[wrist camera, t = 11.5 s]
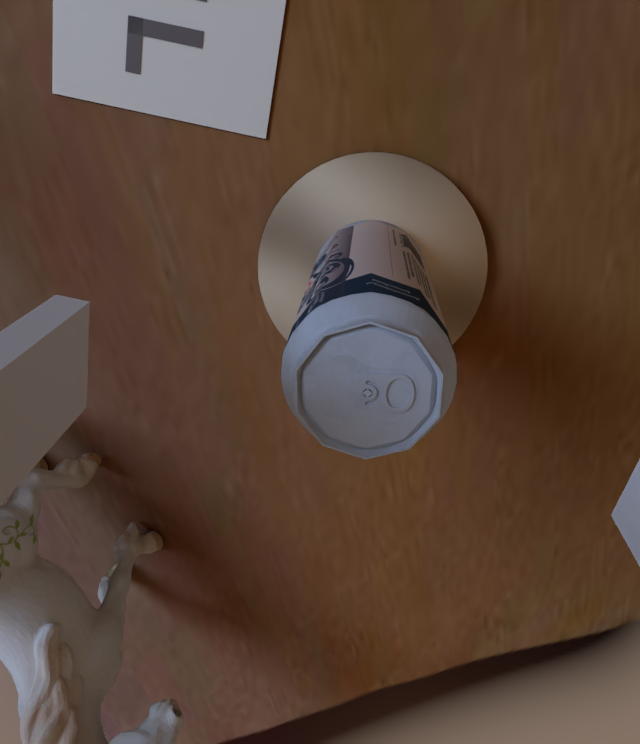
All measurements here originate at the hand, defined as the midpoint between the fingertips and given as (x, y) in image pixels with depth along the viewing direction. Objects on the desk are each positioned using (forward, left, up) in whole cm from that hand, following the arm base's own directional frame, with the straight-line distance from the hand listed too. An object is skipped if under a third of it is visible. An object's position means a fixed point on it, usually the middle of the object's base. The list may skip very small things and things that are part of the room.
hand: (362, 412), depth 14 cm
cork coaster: (0, 0, -14) cm, 14 cm away
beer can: (0, 0, -14) cm, 14 cm away
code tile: (-9, -10, -14) cm, 19 cm away
